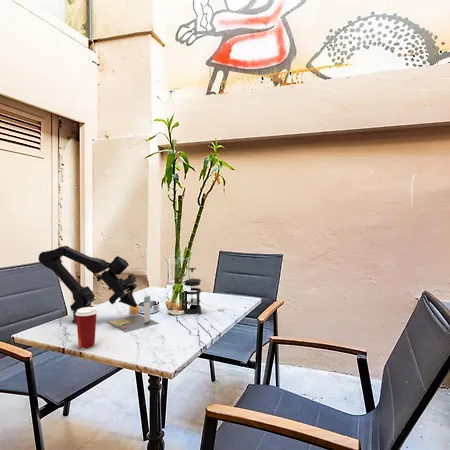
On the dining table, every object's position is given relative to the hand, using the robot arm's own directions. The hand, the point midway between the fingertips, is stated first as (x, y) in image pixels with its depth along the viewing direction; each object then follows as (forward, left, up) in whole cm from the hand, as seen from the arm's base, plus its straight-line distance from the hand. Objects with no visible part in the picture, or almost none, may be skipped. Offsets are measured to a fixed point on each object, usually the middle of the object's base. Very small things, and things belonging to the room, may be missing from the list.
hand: (136, 306), depth 154 cm
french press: (+29, -4, -8) cm, 30 cm away
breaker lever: (+3, -4, -7) cm, 9 cm away
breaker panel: (-1, +1, -8) cm, 8 cm away
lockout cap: (+7, +14, -8) cm, 17 cm away
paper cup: (-26, -9, -8) cm, 29 cm away
